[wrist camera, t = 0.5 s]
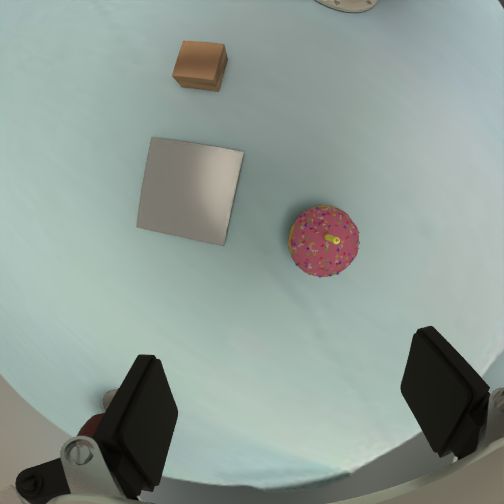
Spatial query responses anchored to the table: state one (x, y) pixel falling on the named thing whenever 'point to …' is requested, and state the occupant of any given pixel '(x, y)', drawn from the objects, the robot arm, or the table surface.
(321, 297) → the table surface
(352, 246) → the cupcake
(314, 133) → the table surface
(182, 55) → the walnut cube
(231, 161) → the slate coaster
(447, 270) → the table surface
